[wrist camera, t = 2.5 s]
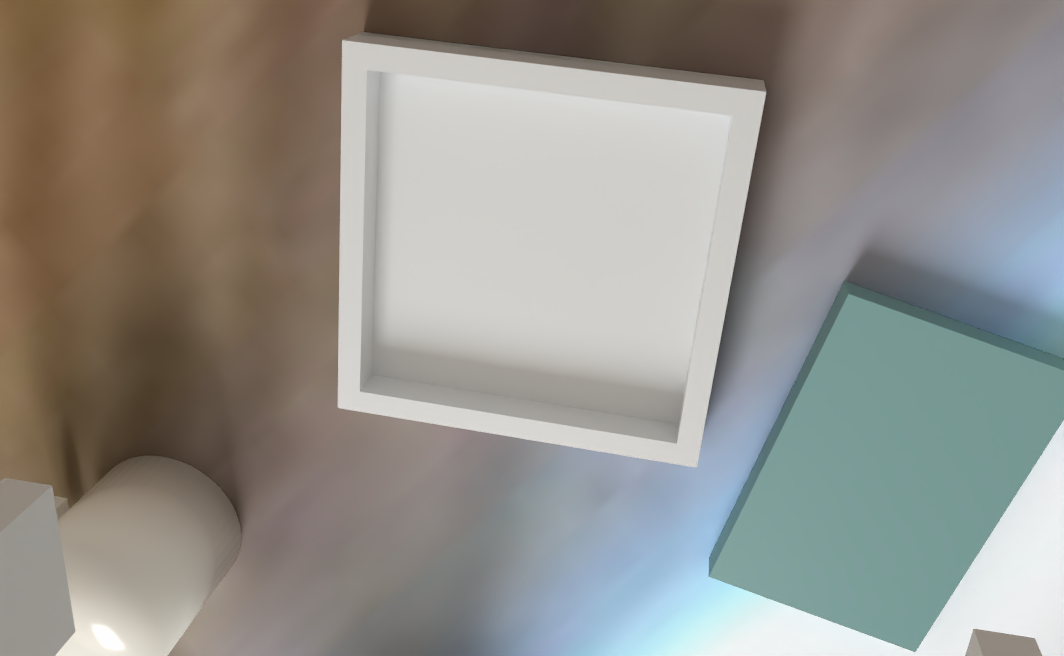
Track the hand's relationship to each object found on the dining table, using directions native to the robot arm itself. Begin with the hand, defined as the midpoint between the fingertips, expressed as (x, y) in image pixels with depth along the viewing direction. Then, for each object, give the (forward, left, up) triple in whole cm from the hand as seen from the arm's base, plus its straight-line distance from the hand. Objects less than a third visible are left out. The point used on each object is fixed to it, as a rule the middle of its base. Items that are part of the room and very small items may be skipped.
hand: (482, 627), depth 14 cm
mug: (+21, +23, -29) cm, 43 cm away
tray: (+3, +5, -29) cm, 30 cm away
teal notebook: (-13, +13, -30) cm, 34 cm away
